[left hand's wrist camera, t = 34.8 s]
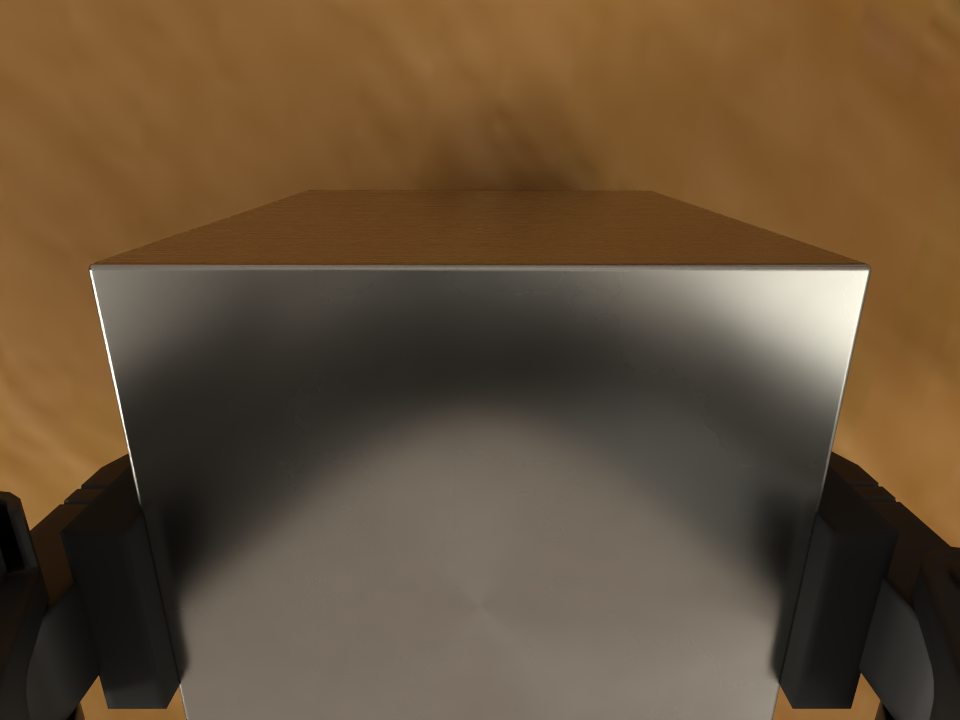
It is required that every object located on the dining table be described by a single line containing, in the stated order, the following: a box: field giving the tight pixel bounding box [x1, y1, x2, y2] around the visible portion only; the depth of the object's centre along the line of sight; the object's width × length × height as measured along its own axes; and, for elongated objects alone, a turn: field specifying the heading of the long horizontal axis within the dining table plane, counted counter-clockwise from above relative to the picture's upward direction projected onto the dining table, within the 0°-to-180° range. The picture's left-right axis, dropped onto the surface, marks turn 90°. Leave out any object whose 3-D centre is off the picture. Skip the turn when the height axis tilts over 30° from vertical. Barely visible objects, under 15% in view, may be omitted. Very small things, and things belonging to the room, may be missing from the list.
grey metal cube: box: [89, 190, 871, 720], centre depth 12 cm, size 8×9×9 cm
